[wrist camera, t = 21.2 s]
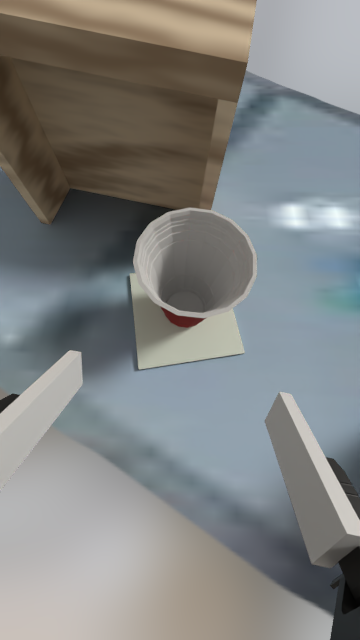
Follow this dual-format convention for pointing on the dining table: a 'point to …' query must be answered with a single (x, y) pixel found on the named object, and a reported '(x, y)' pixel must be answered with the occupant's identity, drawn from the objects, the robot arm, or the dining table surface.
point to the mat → (179, 334)
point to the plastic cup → (195, 264)
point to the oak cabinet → (120, 97)
